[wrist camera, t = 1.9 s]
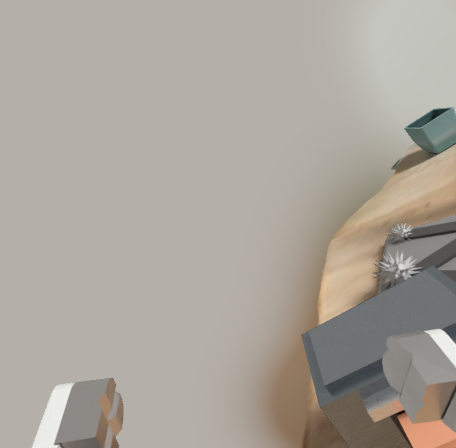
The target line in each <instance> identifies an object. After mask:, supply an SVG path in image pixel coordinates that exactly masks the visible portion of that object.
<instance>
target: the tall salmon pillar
mask: <svg viewBox="0 0 456 448" xmlns="http://www.w3.org/2000/svg"><path fill="white" fill-rule="evenodd" d="M397 417H398V419H399V421H400V423H401V425H402V427H403V429H404V431H405V433H406V435H407V437H408V439H409V441H410V443H411V445H412V447H413V448H456V433H455V432H454V431H453V430H451V429H450V428H449V427H448V426H446V425H445V424H444V423H443V422H442V420H439V421H431V422H424V423H416V424H412V422H411V420H410V419H409V417H408V415H407V413H406V412H404V413H402V414H400V415H397Z"/></svg>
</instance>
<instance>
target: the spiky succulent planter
mask: <svg viewBox="0 0 456 448" xmlns="http://www.w3.org/2000/svg"><path fill="white" fill-rule="evenodd" d="M396 223H397V222H396ZM405 226H406V223H405V224H404V227H403V222H402V225H401V228H400V227H399V225H398V224H397V225H396V227H395V226H394V227H395V229H396V230H395V229H393V228H392V229H391V230H392V231H391V233H393V234H391V235H387V236H388V237H387V239H386V241H385V246H384V253H383V260H382V262H380V261H377V260H376V261H377V262H379V263H380V264H381V265H382V266H379V265H376V264H374V265H376V266H377V267H379V268H381V271H380V272H375V274H380V276H377V277H374V278H380V281H379V285H378V286H379V288H378V294H380V293H382V292H384V291H385V290H387V289H389V288H391V287H393V286H395V285H397V284H399V283H401V282H403V281H404V280H406V279H408V278H410V277H412V276H414V275H416V274H418V273H420V272H422V271H423V270H425V269H427V268H429V267H431V266H435V267H436V268H437V269H439V270H440V271H441V272H442V273H444V274H445V275H446V276H448V277H449V278H450V279H452V280H453V281H454V282H456V215H452V216H449V217H446V218H443V219H440V220H436V221H433V222H430V223H427V224H423V225H420V226H417V227H414V226H413V227H414V228H413V227H412V228H410V226H409V227H407V228H406V229H405ZM409 228H410V229H409ZM389 229H390V228H389ZM389 231H390V230H389ZM378 286H377V287H378Z"/></svg>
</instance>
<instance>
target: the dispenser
mask: <svg viewBox="0 0 456 448" xmlns="http://www.w3.org/2000/svg"><path fill="white" fill-rule="evenodd" d="M434 329H441V330H443V331H444V332H445V333H446V334H447V335H448V336H449V337H450V338H451V339H452V341H453V342H454V343H455V344H456V282H454V281H453V280H452V279H450V278H449V277H448V276H446V275H445V274H444V273H442V272H441V271H440V270H439V269H437V268H436V267H435V266H431V267H429V268H427V269H425V270H423V271H422V272H420V273H418V274H416V275H414V276H412V277H410V278H408V279H406V280H404V281H403V282H401V283H399V284H397V285H395V286H393V287H391V288H389V289H387V290H385V291H384V292H382V293H380V294H378V295H376V296H374V297H372V298H370V299H368V300H367V301H365V302H363V303H361V304H359V305H357V306H355V307H353V308H351V309H349V310H348V311H346V312H344V313H342V314H340V315H338V316H336V317H334V318H332V319H330V320H329V321H327V322H325V323H323V324H321V325H319V326H317V327H315V328H313V329H311V330H310V331H308V332H306V333H304V334H302V335H301V336H302V340H303V343H304V347H305V351H306V355H307V359H308V363H309V367H310V371H311V375H312V378H313V382H314V386H315V390H316V394H317V398H318V402H319V406H320V408H321V409H322V411H323V412H324V413H325V415H326V416H327V417H328V419H329V420H330V422H331V423H332V424H333V426H334V427H335V428H336V430H337V431H338V432H339V434H340V435H341V437H342V438H343V439H344V441H345V442H346V443H347V445H348V446H349V447H350V448H413V447H412V445H411V443H410V441H409V439H408V437H407V435H406V433H405V431H404V429H403V427H402V425H401V423H400V421H399V419H398V417H397V415H400V414H402V413H404V412H405V410H404V408H403V407H402V405H401V403H400V401H399V399H400V392H398V391H397V390H395V389H394V388H392V387H391V386H390V384H389V382H388V380H387V379H386V376H385V373H384V371H383V365H382V359H383V354H384V353H385V352H386V351H387V350H389V349H388V347H387V345H386V342H387V339H388V338H389V337H390V336H394V335H400V334H406V333H412V332H418V331H428V330H434Z"/></svg>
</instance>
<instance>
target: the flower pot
mask: <svg viewBox="0 0 456 448" xmlns="http://www.w3.org/2000/svg"><path fill="white" fill-rule="evenodd" d="M404 129H405V130H406V132H407V133H408V134H409V136H410V137H411V138H412V140H413V141H414V142H415V143H416V144H417V145H418V146H419V147H421V148H422V149H424V150H426V151H427V152H432V153H440V152H442V151H444V150H445V149H447V148H448V147H450V146H452V145H453V144H455V143H456V113H455V110H454V108H453V107H449V108H438V109H433V110H431V111H430V112H428V113H427V114H425V115H424V116H422V117H420V118H419V119H417V120H416V121H414V122H413V123H411V124H410V125H408V126H406V127H405V128H404Z"/></svg>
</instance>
